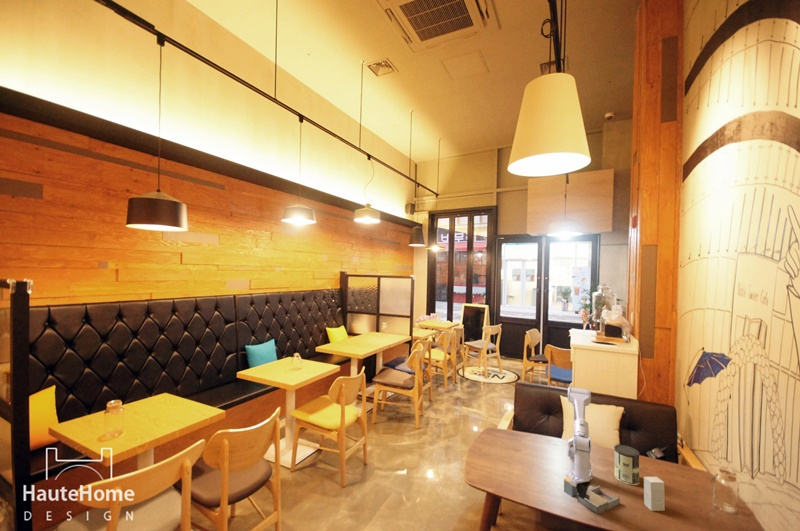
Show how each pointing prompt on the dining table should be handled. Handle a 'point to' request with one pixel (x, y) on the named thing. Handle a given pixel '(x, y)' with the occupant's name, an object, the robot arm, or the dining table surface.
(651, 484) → the skincare box
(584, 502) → the case
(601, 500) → the lid
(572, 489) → the block
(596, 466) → the dining table surface
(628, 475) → the coffee can
